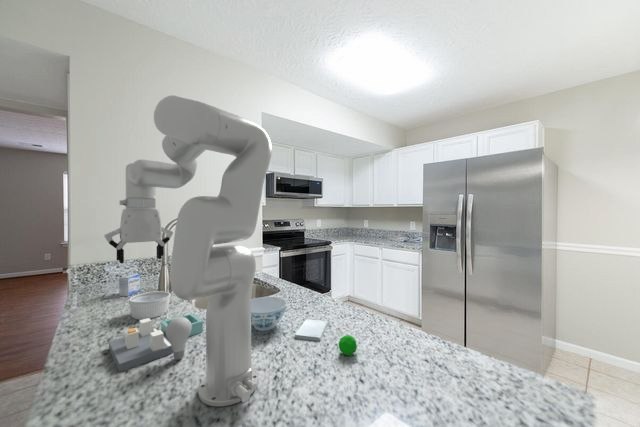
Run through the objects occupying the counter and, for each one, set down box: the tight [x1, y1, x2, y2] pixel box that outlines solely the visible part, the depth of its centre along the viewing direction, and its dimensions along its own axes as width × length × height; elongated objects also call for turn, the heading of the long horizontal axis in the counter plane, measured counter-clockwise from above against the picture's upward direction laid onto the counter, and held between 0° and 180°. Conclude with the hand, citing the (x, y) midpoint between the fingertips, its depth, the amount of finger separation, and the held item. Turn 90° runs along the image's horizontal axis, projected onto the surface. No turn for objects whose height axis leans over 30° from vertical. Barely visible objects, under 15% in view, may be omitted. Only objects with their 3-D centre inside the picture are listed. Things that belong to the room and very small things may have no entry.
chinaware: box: [251, 296, 288, 332], centre depth 88 cm, size 15×15×8 cm
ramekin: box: [128, 290, 171, 320], centre depth 99 cm, size 13×13×7 cm
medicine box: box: [118, 273, 141, 297], centre depth 124 cm, size 8×4×9 cm, turn 179°
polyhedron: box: [338, 334, 358, 356], centre depth 71 cm, size 5×5×5 cm
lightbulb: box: [166, 316, 192, 361], centre depth 69 cm, size 6×6×11 cm
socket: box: [160, 313, 204, 339], centre depth 84 cm, size 10×10×4 cm
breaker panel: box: [108, 318, 173, 373], centre depth 73 cm, size 16×12×6 cm
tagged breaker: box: [124, 327, 139, 349], centre depth 72 cm, size 3×2×4 cm
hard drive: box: [293, 318, 329, 342], centre depth 85 cm, size 2×8×12 cm
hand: (141, 260), depth 79 cm, fingers open, 9 cm apart
